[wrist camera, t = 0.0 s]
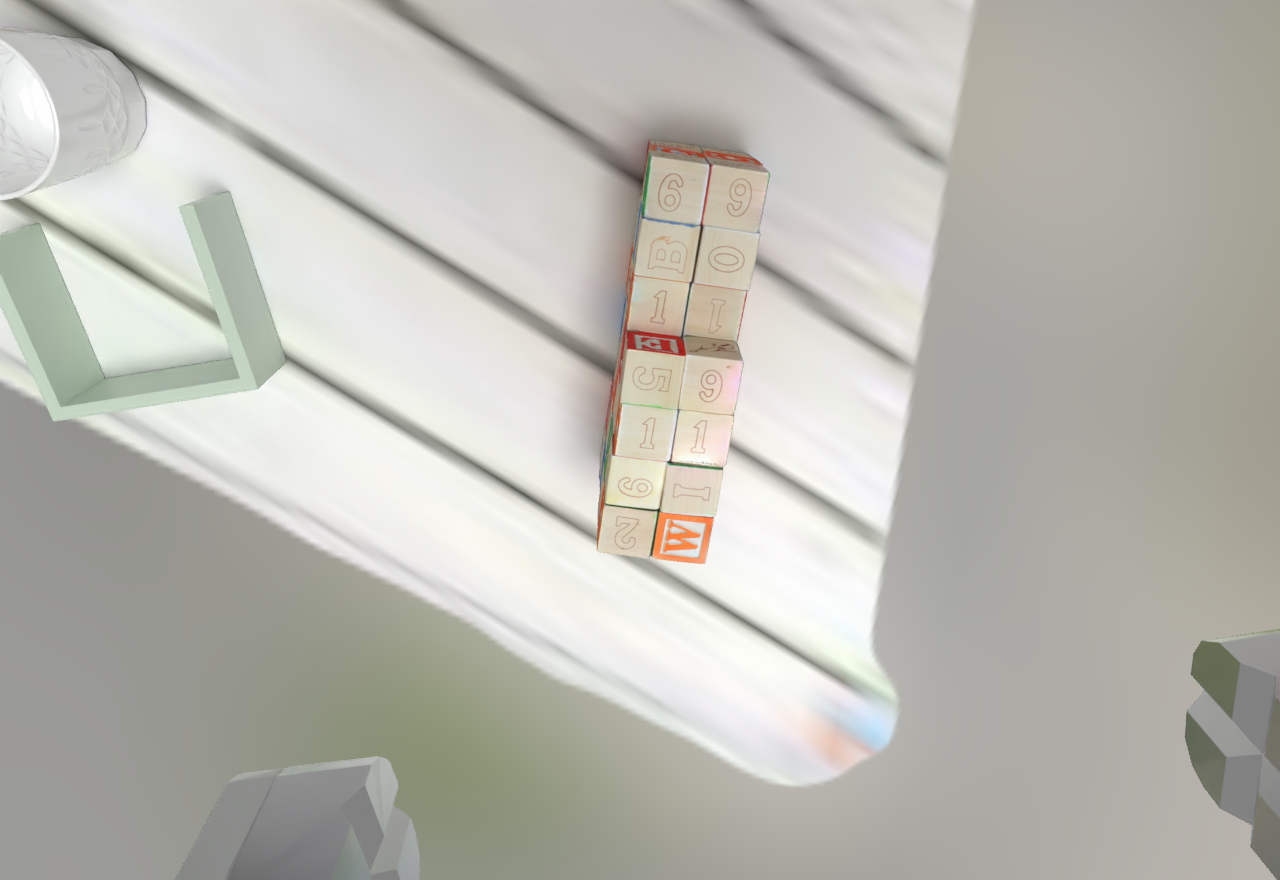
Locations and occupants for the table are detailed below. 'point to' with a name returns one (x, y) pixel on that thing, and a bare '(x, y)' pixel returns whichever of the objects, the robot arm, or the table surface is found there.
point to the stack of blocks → (679, 351)
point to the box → (76, 386)
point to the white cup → (62, 110)
